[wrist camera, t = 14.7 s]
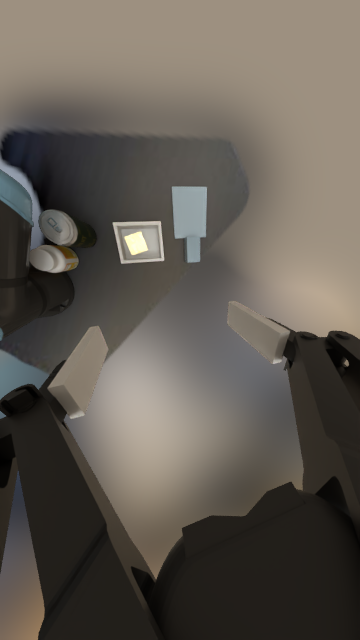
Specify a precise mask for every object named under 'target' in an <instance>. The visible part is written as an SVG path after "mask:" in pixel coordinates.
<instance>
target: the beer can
mask: <svg viewBox="0 0 360 640" xmlns="http://www.w3.org/2000/svg"><path fill="white" fill-rule="evenodd" d="M39 227H40V229H41V231H42V233H43V234H44V235H45V237H47V238H48V239H49V240H50V241H52V242H54V243H56V244H58V245H62V246H70V247H83V248H89V247H92V246H93V245H94V244H95V242H96V234H95V231H94V230H93V228H92V227H91V226H90V225H89V224H87V223H85V222H83V221H81V220H79V219H77V218H75V217H72V216H70V215H68V214H66V213H64V212H62V211H59V210H46V211H43V212H42V213H41V214H40V216H39Z"/></svg>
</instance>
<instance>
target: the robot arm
mask: <svg viewBox="0 0 360 640" xmlns="http://www.w3.org/2000/svg"><path fill="white" fill-rule="evenodd" d="M33 226H34V223H33V221H32V200H31V197H30V195H29V194H28V192H27V191H26V189H25V188H24V187H23V186H22V185H21V184H20V183H18V182H17V181H16V180H15V179H13V178H12V177H11V176H9V175H8V174H6V173H5V172H3V171H2V170H0V341H1V339H3V338H5V337H6V336H8V335H10V334H11V333H13V332H15V331H16V330H18V329H19V328H21V327H23V326H24V325H26V324H28V323H29V322H31V321H33V320H34V319H36V318H40V317H47V316H53V315H56V314H59V313H61V312H62V311H64V310H65V309H67V308H68V307H69V306H70V305H71V303H72V301H73V299H74V287H73V284H72V282H71V280H70V278H69V276H68V275H67V274H66V273H65V271H63V272H58V273H51V272H47V271H42V270H39V269H37V268H35V267H34V266H33V265H32V264H31V262H30V261H29V259H30V245H31V231H32V227H33ZM227 324H228V325H229V326H230V327H231V328H232V329H233V330H234V331H236V333H238V334H239V335H240V336H241V337H242V338H243V339H244V340H245V341H247V342H248V343H249V344H250V345H251V346H252V347H253V348H255V349H256V350H257V351H258V352H259V353H260V354H261V355H263V356H264V357H265V358H266V359H267V360H268V361H269V362H270V363H271V364H275V363H279V362H281V361H282V357H283V356H285V357H286V358H287V361H286V364H285V367H284V370H286V369H287V370H288V377H289V382H290V388H291V394H292V400H293V405H294V412H295V418H296V424H297V430H298V435H299V442H300V447H301V454H302V459H303V467H304V473H303V491H302V490H298V489H296V488H295V487H294V485H293V484H292V482H289V483H286V484H284V485H282V486H279V487H277V488H275V489H272V490H270V491H268V492H266V493H265V494H264V496H263V497H262V498H261V499H260V500H259V501H258V502H257V504H256V505H255V506H254V507H253V508H252V510H251V511H250V512H249V513H248V514H247V515H246V516H242V517H240V516H209V517H207V518H204V519H202V520H200V521H197V522H195V523H193V524H190V525H188V526H186V527H183V528H182V532H183V536H182V537H181V538H180V539H179V540H178V541H177V542H176V544H175V545H174V547H173V548H172V549H171V551H170V552H169V554H168V556H167V558H166V560H165V561H164V563H163V565H162V567H161V570H160V572H159V574H158V577H157V579H155V577H154V575H153V574H152V572H151V570H150V569H149V567H148V565H147V563H146V561H145V560H144V558H143V557H142V555H141V553H140V552H139V550H138V549H137V548H136V546H135V545H134V543H133V542H132V540H131V539H130V537H129V536H128V534H127V532H126V530H125V528H124V526H123V525H122V523H121V521H120V519H119V517H118V516H117V514H116V512H115V510H114V509H113V507H112V505H111V503H110V501H109V500H108V498H107V496H106V494H105V492H104V491H103V489H102V487H101V485H100V484H99V482H98V480H97V478H96V476H95V475H94V473H93V471H92V469H91V467H90V466H89V464H88V462H87V460H86V458H85V457H84V455H83V453H82V451H81V449H80V448H79V446H78V444H77V442H76V441H75V439H74V437H73V435H72V433H71V432H70V430H69V428H68V426H67V425H66V423H65V422H64V418H65V416H66V414H68V415H69V417H70V418H71V419H73V418H77V417H80V416H84V415H85V413H86V411H87V407H88V405H89V402H90V399H91V397H92V394H93V391H94V388H95V385H96V383H97V380H98V377H99V374H100V371H101V369H102V366H103V363H104V360H105V357H106V355H107V352H108V347H107V345H106V342H105V340H104V337H103V335H102V333H101V330H100V328H99V326H94V327H90V328H89V329H88V331H87V332H86V334H85V335H84V336H83V338H82V339H81V341H80V342H79V344H78V345H77V346H76V348H75V349H74V351H73V352H72V354H71V355H70V356H69V358H68V359H67V360H64V361H62V362H61V363H60V364H59V365H58V366H56V368H55V369H54V370H53V372H52V373H51V374H50V376H49V377H48V379H47V380H46V381H45V382H44V384H43V385H42V386H41V388H40V389H39V390H38V389H37V388H36V387H35V386H34V385H33V384H27V385H24V386H21V387H18V388H16V389H14V390H13V391H11V392H10V393H8V394H7V395H5V396H4V397H3V398H2V399H1V400H0V411H1V412H2V413H4V414H5V415H6V417H4V418H2V419H0V572H1V566H2V560H3V554H4V548H5V543H6V537H7V531H8V525H9V519H10V513H11V507H12V501H13V496H14V490H15V483H16V478H17V472H18V470H19V475H20V481H21V486H22V491H23V496H24V501H25V506H26V511H27V517H28V522H29V527H30V532H31V537H32V543H33V548H34V553H35V558H36V562H37V568H38V573H39V579H40V584H41V589H42V594H43V599H44V607H45V615H44V620H43V623H42V625H41V628H40V631H39V636H38V640H360V340H359V339H358V338H357V337H355V336H353V335H351V334H348V333H347V332H343V331H330V332H329V334H328V336H327V337H318V336H316V335H314V334H312V333H309V332H295V331H293V330H291V329H289V328H287V327H286V326H284V325H281V324H280V323H277V322H276V321H274V320H272V319H269V318H266V317H264V316H262V315H260V314H258V313H257V312H255V311H253V310H251V309H249V308H247V307H246V306H244V305H242V304H240V303H238V302H237V301H230V302H229V303H228V319H227ZM346 359H347V360H348V362H349V366H348V367H347V366H346V365H345V364H344V362H345V361H346Z"/></svg>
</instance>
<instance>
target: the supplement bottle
mask: <svg viewBox="0 0 360 640" xmlns="http://www.w3.org/2000/svg"><path fill="white" fill-rule="evenodd" d="M29 261H30V262H31V264H32V265H33V266H34V267H35V268H37V269H39V270H42V271H47V272H51V273H58V272H63V271H68V270H72V269H74V268H76V267H77V265H78V262H79V260H78V257H77V255H76V253H75V252H74V251H73V250H72V249H70V248H68V247H65V246H54V245H42V246H39V247H37V248H36V249H33V250H31V251H30V259H29Z"/></svg>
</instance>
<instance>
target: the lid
mask: <svg viewBox="0 0 360 640" xmlns="http://www.w3.org/2000/svg"><path fill="white" fill-rule="evenodd" d="M206 200H207V187H172V202H173V218H174V234H175V239H177V238H184V250H185V262H187V263H188V262H200V237H206Z"/></svg>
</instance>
